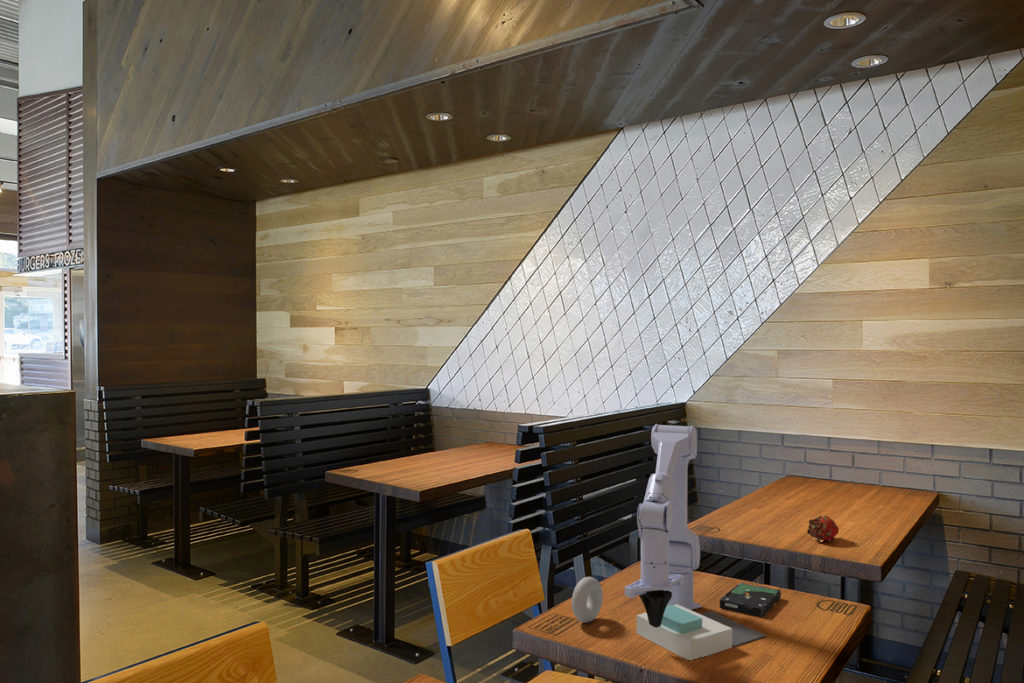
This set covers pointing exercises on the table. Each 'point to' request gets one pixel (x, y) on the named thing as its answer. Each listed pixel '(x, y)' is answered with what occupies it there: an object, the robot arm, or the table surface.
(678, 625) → the teal rectangular block
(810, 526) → the dragon fruit
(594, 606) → the donut
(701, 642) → the white flat block
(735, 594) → the disk drive
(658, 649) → the table surface
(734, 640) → the mat
